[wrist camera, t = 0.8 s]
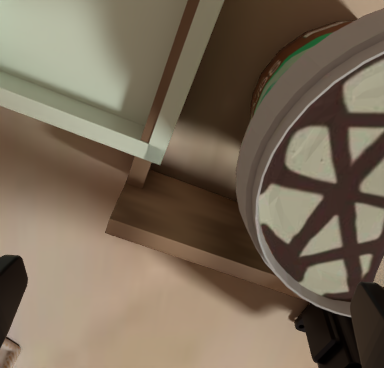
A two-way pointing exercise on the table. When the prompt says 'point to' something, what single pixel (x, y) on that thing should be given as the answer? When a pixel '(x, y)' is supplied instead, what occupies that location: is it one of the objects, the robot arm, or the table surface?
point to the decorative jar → (8, 354)
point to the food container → (319, 162)
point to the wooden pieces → (186, 206)
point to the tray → (100, 66)
